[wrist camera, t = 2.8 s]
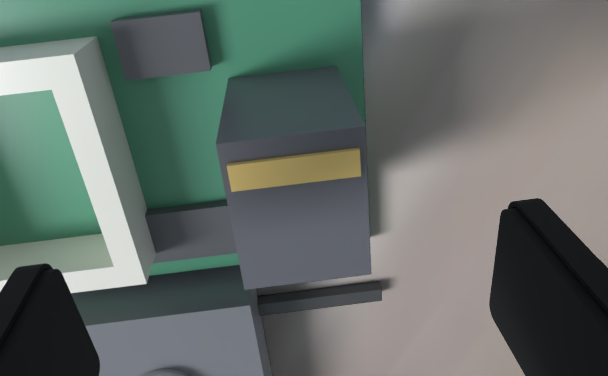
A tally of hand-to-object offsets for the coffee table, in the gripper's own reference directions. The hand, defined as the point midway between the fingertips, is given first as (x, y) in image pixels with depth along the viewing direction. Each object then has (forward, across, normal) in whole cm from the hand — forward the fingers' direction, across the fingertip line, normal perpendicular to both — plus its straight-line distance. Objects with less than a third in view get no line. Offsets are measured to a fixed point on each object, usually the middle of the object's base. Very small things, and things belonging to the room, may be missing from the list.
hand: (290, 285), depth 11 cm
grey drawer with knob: (+10, +3, +12) cm, 16 cm away
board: (+11, +5, +1) cm, 12 cm away
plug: (+10, -1, +1) cm, 10 cm away
